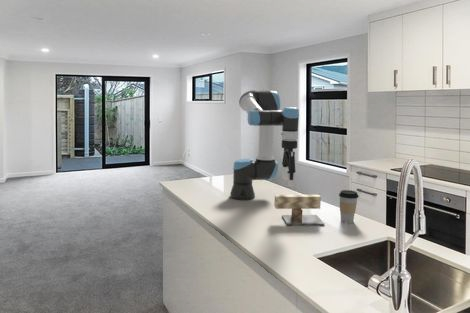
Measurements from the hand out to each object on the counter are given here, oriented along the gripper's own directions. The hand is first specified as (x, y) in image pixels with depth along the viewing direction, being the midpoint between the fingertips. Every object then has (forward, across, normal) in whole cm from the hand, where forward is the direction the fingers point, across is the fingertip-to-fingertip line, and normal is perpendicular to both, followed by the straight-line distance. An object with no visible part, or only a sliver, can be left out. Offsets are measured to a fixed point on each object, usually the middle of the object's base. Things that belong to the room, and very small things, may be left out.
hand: (287, 183), depth 185 cm
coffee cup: (+19, +1, +30) cm, 36 cm away
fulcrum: (+19, +1, +8) cm, 21 cm away
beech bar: (+12, +1, +5) cm, 13 cm away
